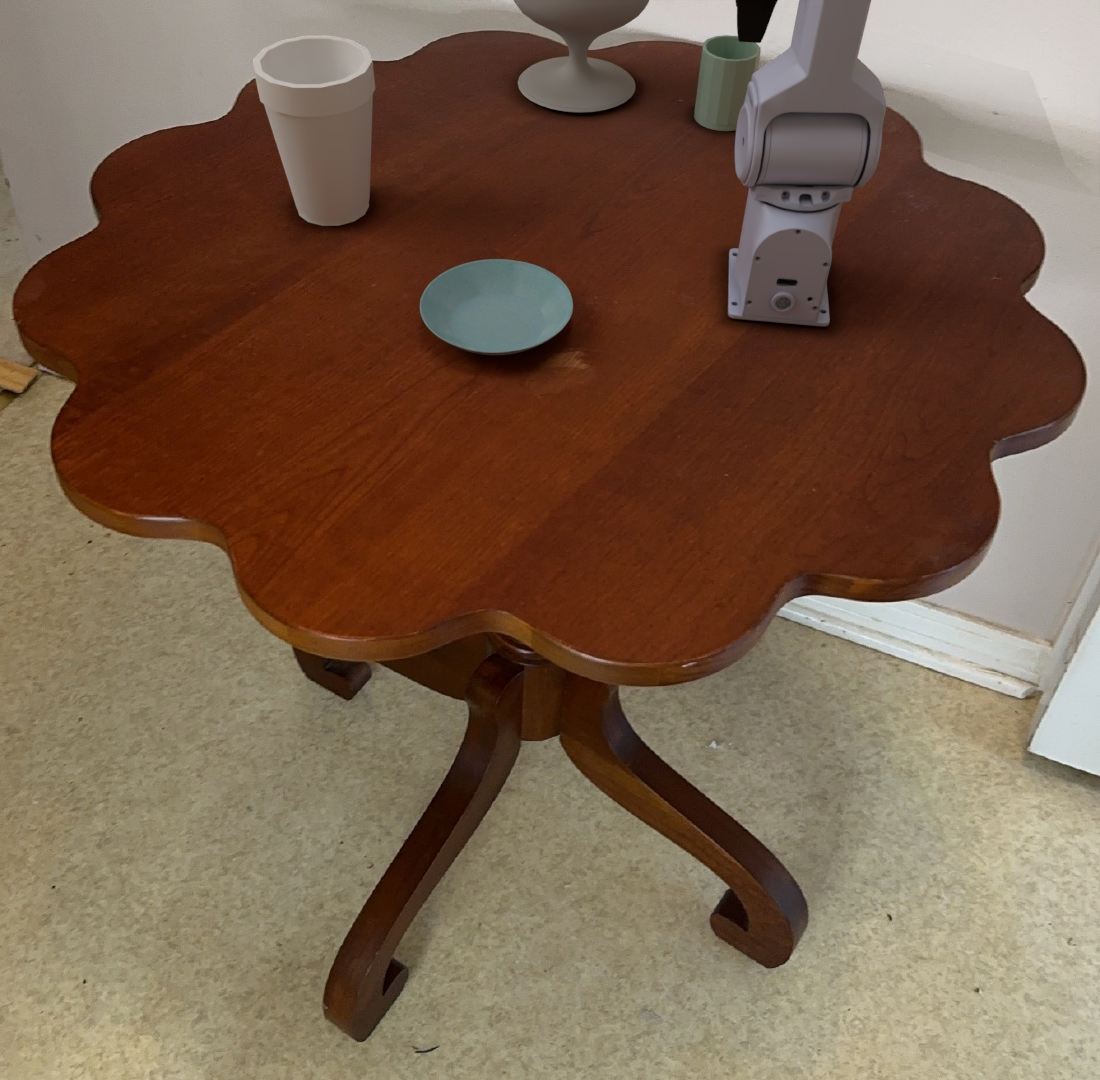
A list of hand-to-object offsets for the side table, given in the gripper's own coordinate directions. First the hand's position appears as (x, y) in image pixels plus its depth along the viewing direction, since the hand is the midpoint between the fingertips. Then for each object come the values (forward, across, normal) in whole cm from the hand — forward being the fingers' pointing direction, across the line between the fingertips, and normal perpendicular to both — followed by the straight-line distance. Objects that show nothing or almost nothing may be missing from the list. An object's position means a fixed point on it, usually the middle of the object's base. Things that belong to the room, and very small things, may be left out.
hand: (748, 23), depth 102 cm
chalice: (+10, +4, +16) cm, 19 cm away
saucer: (+10, -36, +19) cm, 42 cm away
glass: (+9, 0, +1) cm, 9 cm away
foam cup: (+10, -21, +36) cm, 43 cm away
